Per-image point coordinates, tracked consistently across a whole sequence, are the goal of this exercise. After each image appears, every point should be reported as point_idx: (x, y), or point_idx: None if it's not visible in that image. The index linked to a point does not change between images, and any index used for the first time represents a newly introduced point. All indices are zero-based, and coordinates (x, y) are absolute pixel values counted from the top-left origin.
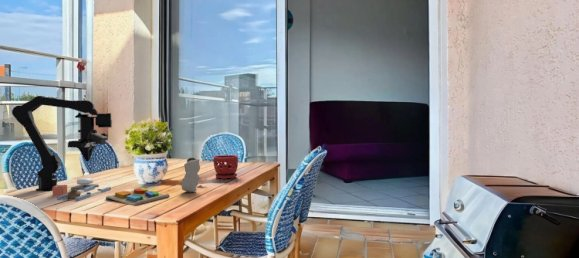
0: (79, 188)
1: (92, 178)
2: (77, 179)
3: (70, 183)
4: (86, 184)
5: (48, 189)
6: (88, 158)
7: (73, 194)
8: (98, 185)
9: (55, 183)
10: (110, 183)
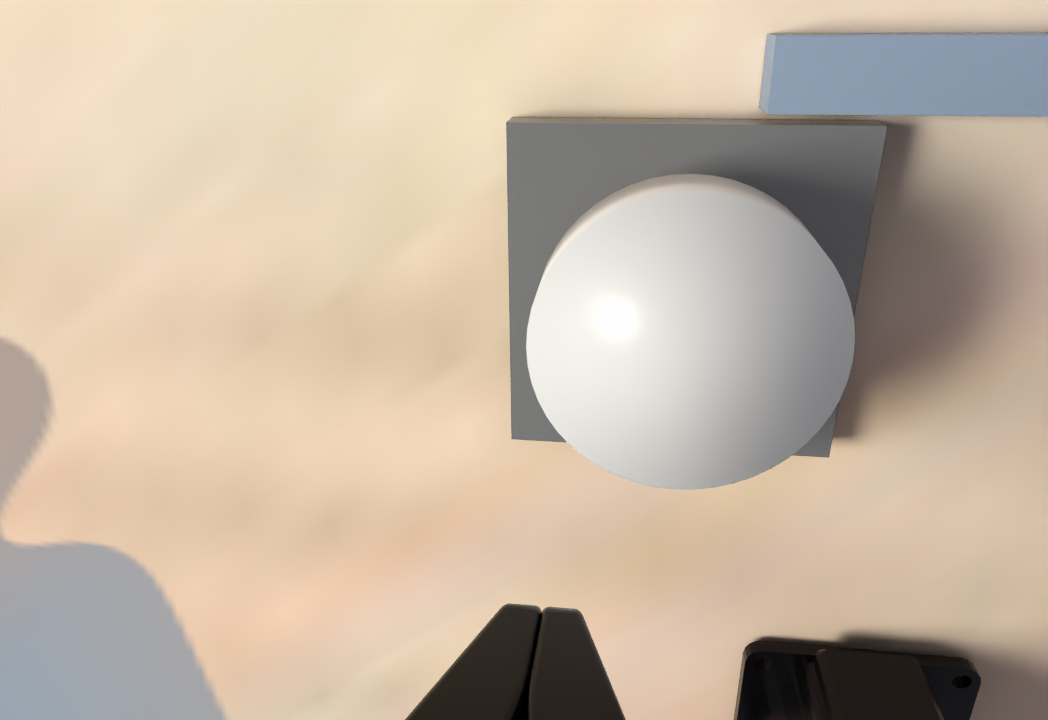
0: (854, 293)
1: (569, 249)
2: (734, 478)
3: (399, 671)
4: None
5: (950, 682)
6: (589, 686)
7: None
8: (515, 119)
9: (872, 706)
10: (189, 73)
